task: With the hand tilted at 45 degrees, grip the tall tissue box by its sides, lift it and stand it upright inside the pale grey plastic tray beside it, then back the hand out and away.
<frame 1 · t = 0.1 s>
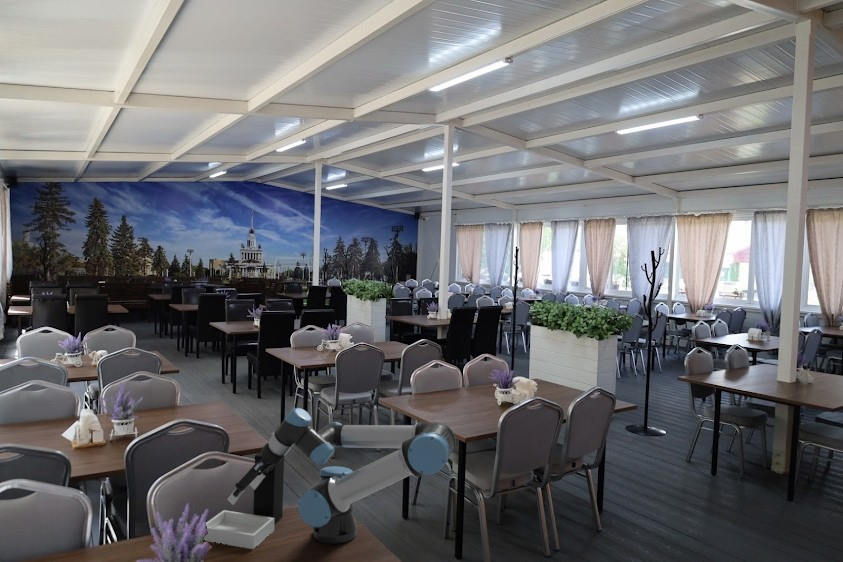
hand: (241, 494, 200), 15 cm above the table, tool tilted 35°, fingers open, 13 cm apart
tissue box: (267, 521, 215), on the table
tray: (237, 535, 203), on the table
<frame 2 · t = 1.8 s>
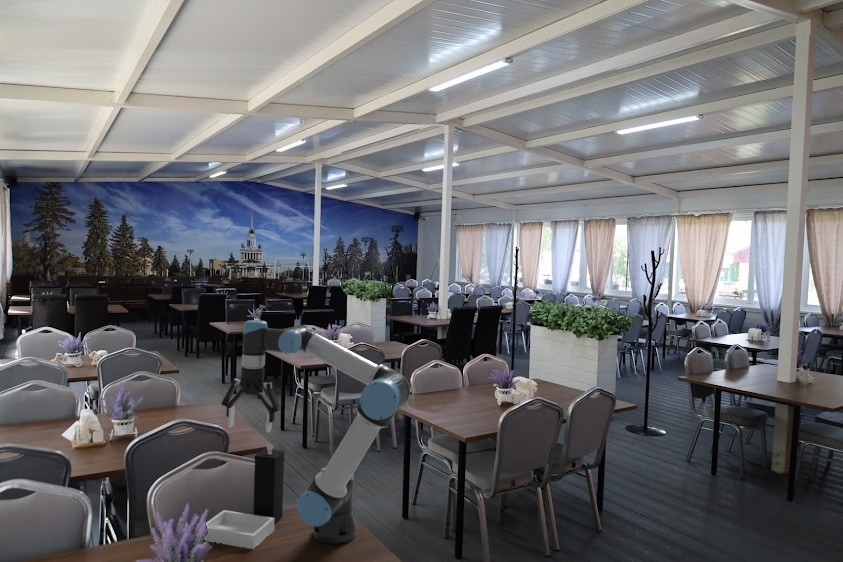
hand: (249, 429, 199), 38 cm above the table, tool pointing down, fingers open, 13 cm apart
nothing on the table moved.
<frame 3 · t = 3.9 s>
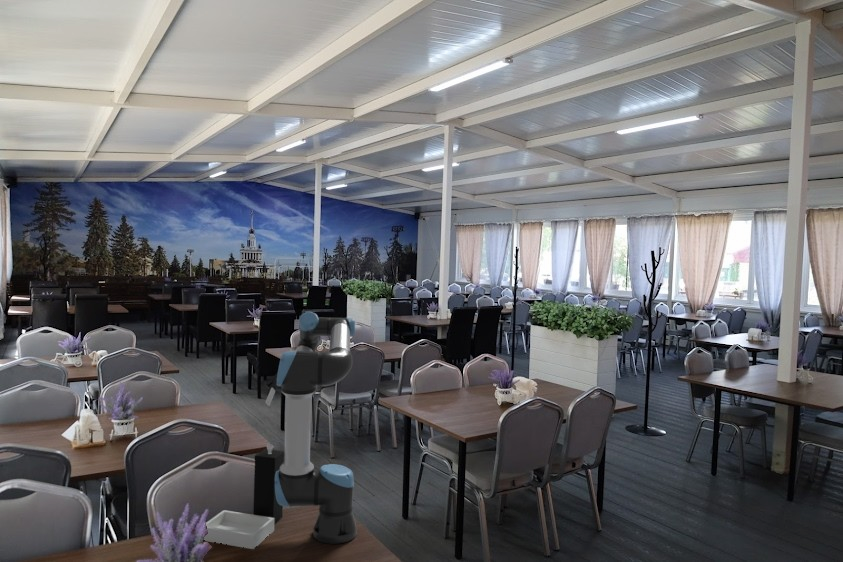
hand: (283, 405, 224), 40 cm above the table, tool tilted 45°, fingers open, 13 cm apart
nothing on the table moved.
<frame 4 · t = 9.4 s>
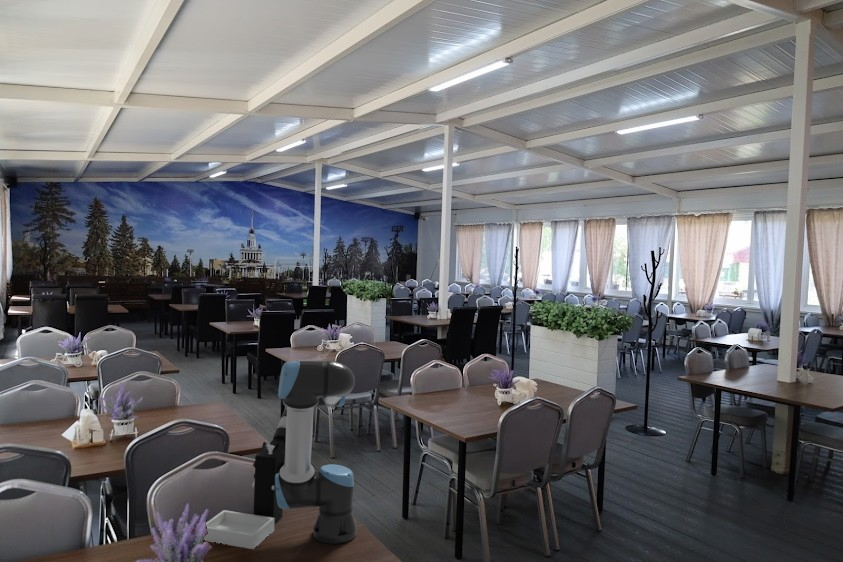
hand: (263, 488, 212), 13 cm above the table, tool tilted 45°, fingers closed on tissue box, 7 cm apart
tissue box: (267, 520, 215), on the table, touching gripper
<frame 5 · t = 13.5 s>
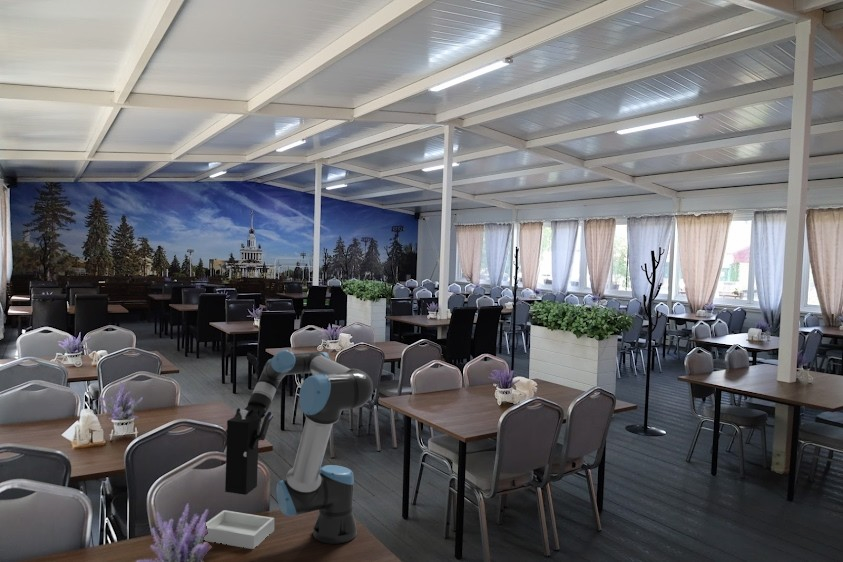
hand: (235, 455, 200), 28 cm above the table, tool tilted 45°, fingers closed on tissue box, 7 cm apart
tissue box: (241, 490, 204), point 15 cm above the table, touching gripper
when the fingers open (15 cm above the table, at t = 17.2 s): tissue box drops 1 cm, resting on tray.
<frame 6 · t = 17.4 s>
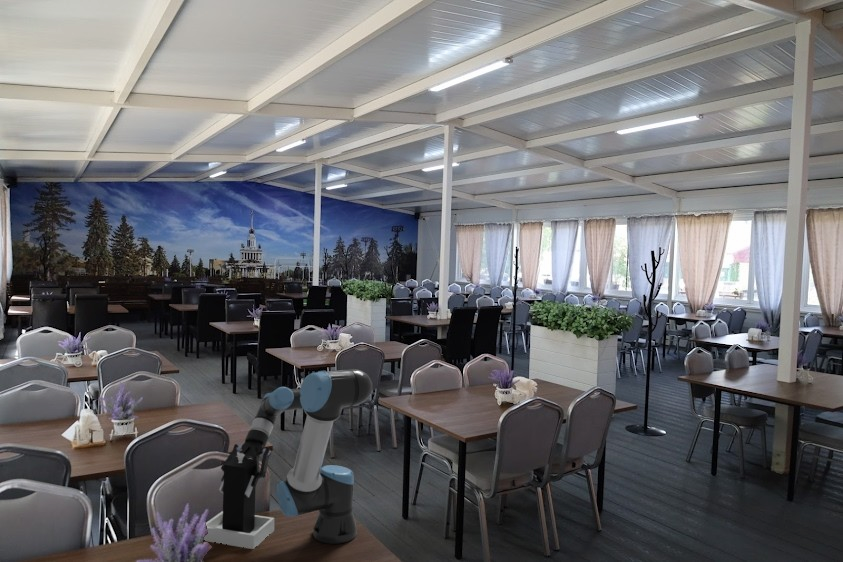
hand: (233, 493, 200), 16 cm above the table, tool tilted 45°, fingers open, 9 cm apart
tissue box: (238, 533, 203), point 1 cm above the table, touching tray
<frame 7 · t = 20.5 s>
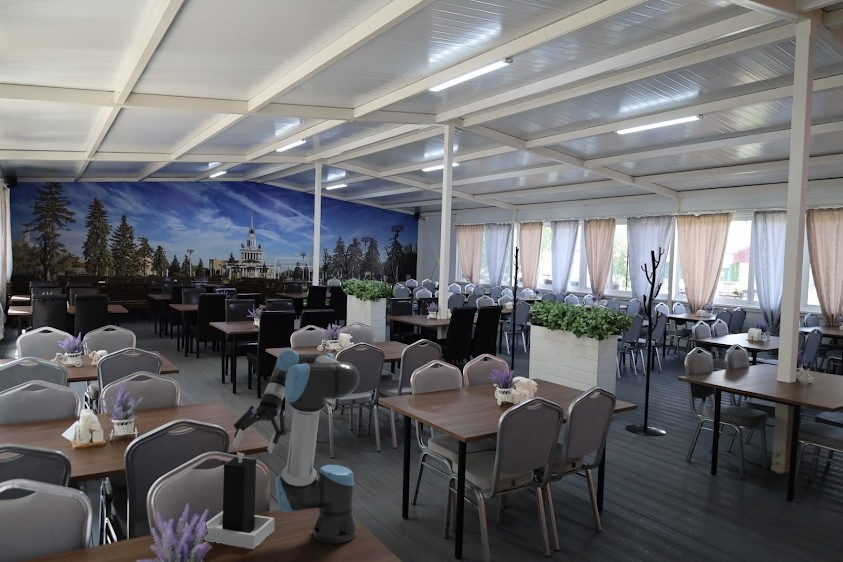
hand: (251, 449, 210), 27 cm above the table, tool tilted 45°, fingers open, 13 cm apart
nothing on the table moved.
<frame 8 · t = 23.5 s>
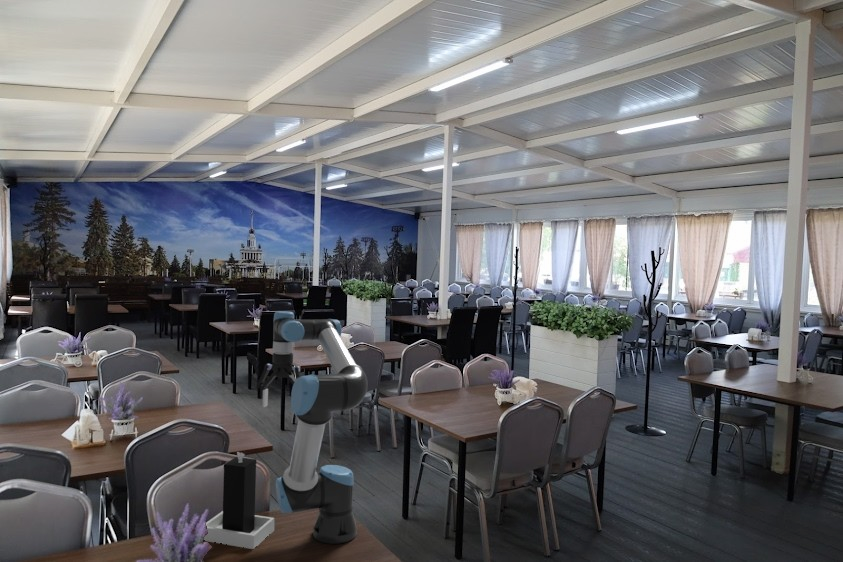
hand: (281, 408, 224), 39 cm above the table, tool pointing down, fingers open, 13 cm apart
nothing on the table moved.
at the end: tissue box inside the target area on the tray (0.6 cm from its centre), point 0.8 cm above the tray's base; tissue box tilted 0°; the gripper is holding nothing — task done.
